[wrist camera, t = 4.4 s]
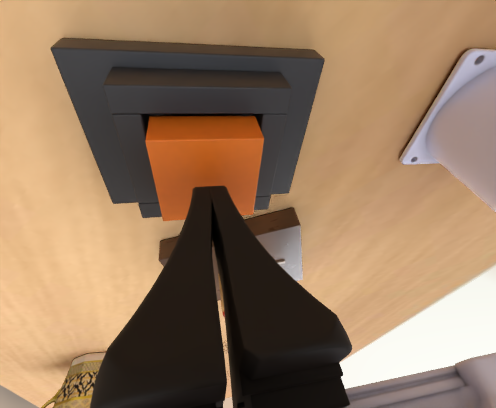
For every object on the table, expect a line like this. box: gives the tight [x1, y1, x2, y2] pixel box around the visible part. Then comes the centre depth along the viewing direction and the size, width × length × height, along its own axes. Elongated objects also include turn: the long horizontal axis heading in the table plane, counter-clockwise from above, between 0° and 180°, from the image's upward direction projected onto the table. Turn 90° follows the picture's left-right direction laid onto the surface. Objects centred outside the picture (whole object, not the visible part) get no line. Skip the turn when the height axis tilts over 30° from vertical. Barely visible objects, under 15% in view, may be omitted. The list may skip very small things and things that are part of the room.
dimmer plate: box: [159, 208, 303, 301], centre depth 25 cm, size 12×10×2 cm
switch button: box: [145, 116, 264, 221], centre depth 13 cm, size 5×5×2 cm
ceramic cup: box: [41, 352, 106, 408], centre depth 36 cm, size 13×10×10 cm
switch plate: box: [51, 38, 324, 218], centre depth 14 cm, size 12×9×4 cm
